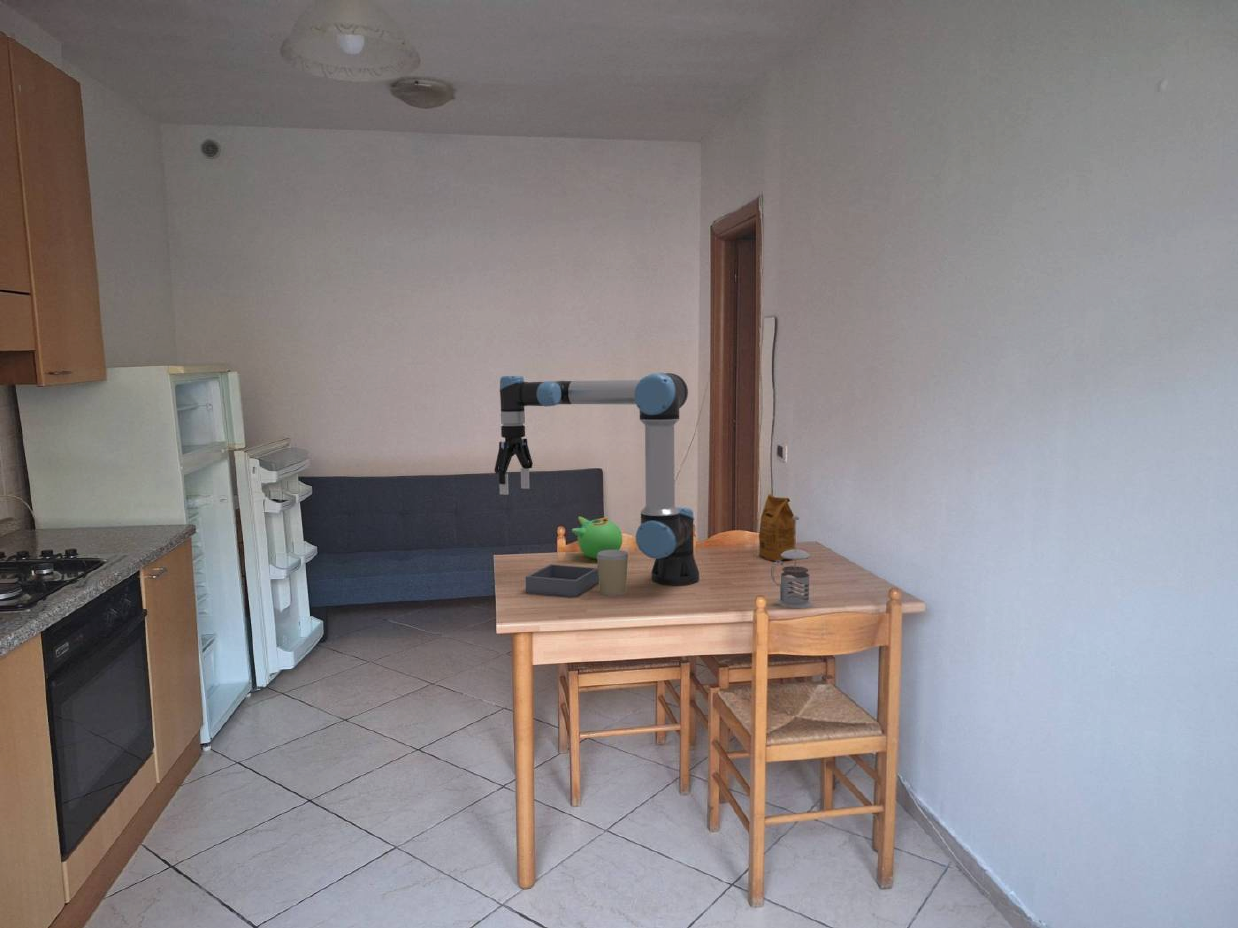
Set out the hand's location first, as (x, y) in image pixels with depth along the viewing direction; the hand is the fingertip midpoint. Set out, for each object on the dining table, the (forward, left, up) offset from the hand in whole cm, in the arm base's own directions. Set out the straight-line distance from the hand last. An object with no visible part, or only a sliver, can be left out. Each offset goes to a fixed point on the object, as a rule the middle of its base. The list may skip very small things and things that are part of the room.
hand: (514, 491), depth 257 cm
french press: (-88, +1, -28) cm, 93 cm away
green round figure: (-14, -33, -28) cm, 46 cm away
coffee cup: (-36, +7, -28) cm, 46 cm away
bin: (-20, +8, -28) cm, 35 cm away
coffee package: (-73, -53, -28) cm, 95 cm away
